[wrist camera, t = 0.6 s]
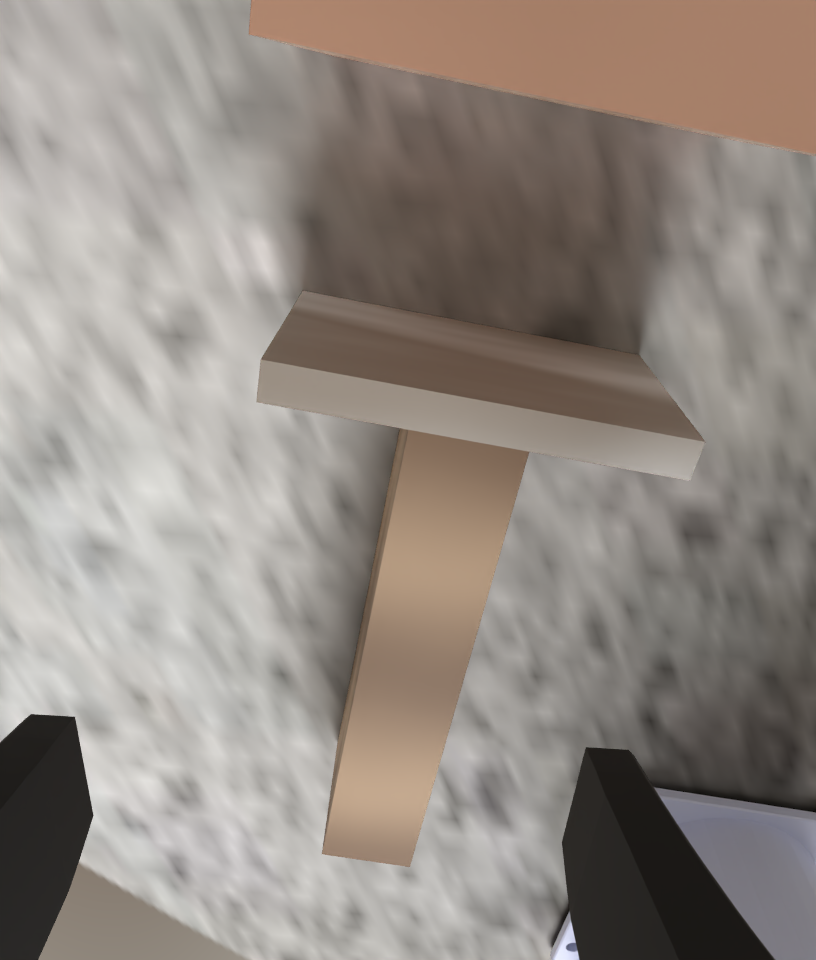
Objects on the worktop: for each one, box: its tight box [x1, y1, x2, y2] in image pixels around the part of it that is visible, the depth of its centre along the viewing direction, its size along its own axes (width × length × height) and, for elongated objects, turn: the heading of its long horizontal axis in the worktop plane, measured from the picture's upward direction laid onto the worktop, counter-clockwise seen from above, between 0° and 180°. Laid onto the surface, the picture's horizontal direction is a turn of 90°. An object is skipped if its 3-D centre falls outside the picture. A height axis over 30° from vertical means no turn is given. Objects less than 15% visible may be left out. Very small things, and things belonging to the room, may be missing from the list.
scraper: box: [257, 291, 705, 867], centre depth 19 cm, size 14×8×5 cm, turn 169°
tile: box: [249, 0, 816, 156], centre depth 12 cm, size 2×8×8 cm, turn 79°
